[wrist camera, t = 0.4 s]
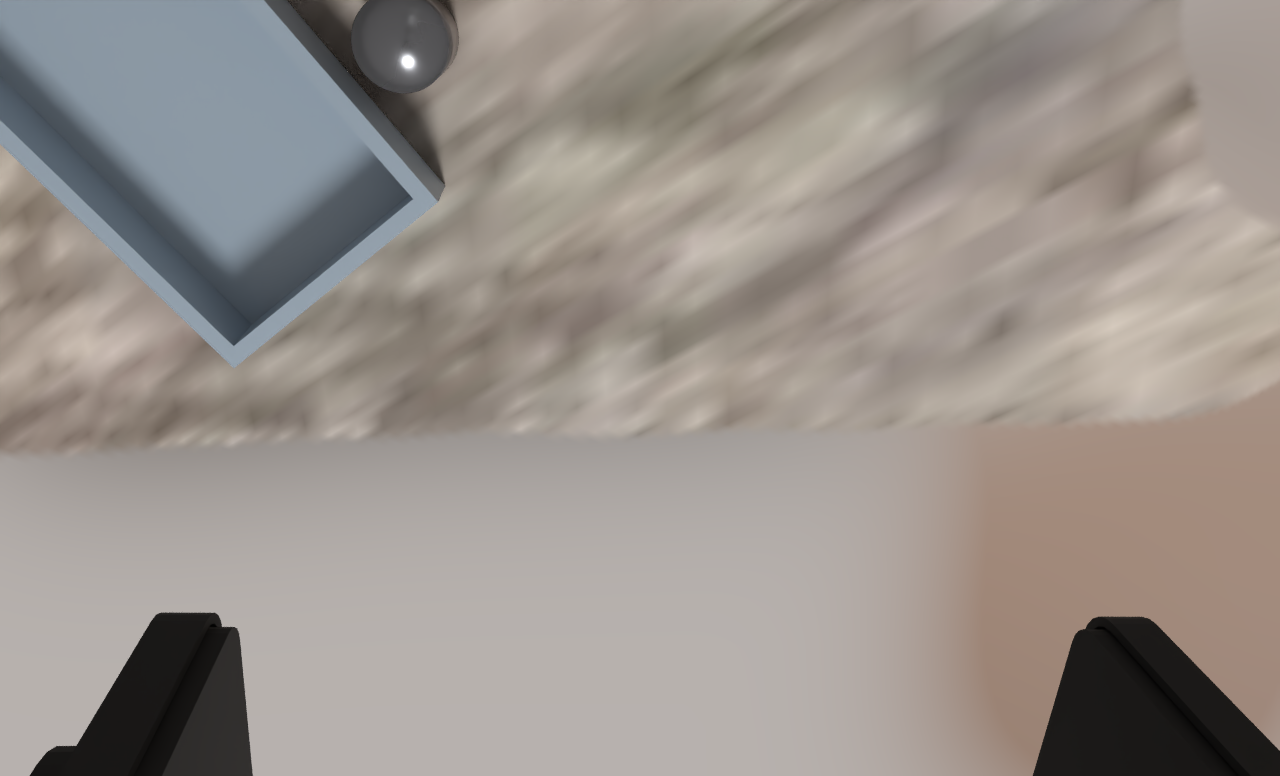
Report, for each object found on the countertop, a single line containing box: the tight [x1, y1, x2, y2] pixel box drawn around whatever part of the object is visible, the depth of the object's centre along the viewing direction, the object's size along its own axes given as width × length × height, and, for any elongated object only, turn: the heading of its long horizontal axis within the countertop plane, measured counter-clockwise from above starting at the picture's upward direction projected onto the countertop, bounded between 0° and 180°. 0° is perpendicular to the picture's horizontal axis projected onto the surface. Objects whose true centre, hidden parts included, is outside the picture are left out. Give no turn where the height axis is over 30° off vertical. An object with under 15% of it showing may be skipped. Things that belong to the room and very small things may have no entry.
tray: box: [0, 0, 445, 368], centre depth 33 cm, size 10×19×3 cm, turn 37°
